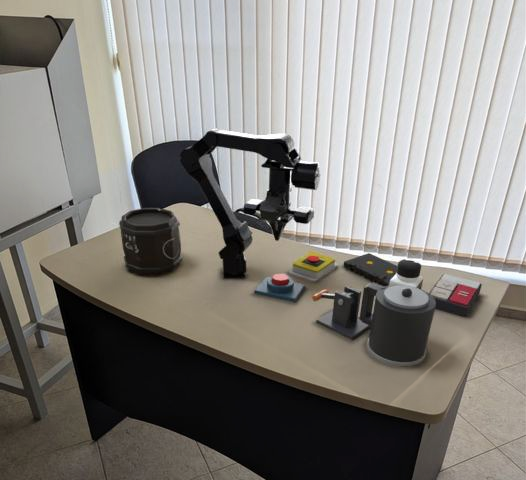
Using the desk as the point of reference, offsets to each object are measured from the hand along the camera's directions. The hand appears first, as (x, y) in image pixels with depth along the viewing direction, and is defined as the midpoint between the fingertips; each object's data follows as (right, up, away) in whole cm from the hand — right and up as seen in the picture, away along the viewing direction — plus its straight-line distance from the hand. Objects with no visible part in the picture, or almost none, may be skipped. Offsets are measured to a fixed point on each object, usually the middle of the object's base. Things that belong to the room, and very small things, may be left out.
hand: (277, 240), depth 139 cm
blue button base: (+1, -15, +1) cm, 15 cm away
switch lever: (+14, -18, -14) cm, 27 cm away
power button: (+1, -12, -1) cm, 12 cm away
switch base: (+17, -24, -13) cm, 32 cm away
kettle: (+26, -29, -21) cm, 44 cm away
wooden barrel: (-38, -5, +15) cm, 41 cm away
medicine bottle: (+35, -17, -2) cm, 39 cm away
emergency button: (+12, -7, +14) cm, 20 cm away
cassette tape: (+31, -8, +13) cm, 35 cm away
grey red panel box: (+49, -17, -1) cm, 52 cm away
